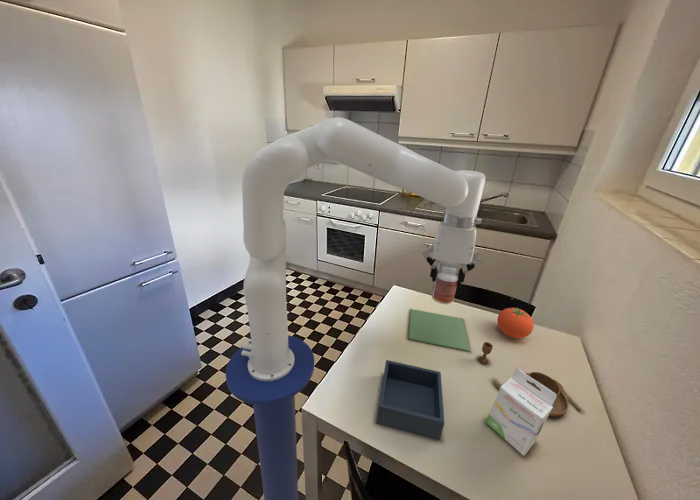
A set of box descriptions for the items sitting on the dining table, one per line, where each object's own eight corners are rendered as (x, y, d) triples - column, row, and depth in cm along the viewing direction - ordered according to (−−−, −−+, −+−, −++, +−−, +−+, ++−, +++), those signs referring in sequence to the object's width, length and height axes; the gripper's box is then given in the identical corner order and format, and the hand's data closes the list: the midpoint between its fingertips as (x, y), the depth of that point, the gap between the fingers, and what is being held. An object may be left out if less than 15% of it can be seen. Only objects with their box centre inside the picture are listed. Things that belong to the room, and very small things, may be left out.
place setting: (522, 423, 64) (530, 405, 61) (474, 357, 82) (478, 341, 79) (587, 415, 66) (597, 397, 64) (526, 353, 84) (532, 338, 82)
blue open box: (376, 423, 62) (378, 406, 59) (383, 375, 74) (386, 359, 72) (439, 440, 59) (444, 422, 57) (436, 387, 71) (440, 371, 69)
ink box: (484, 423, 63) (502, 375, 57) (496, 412, 66) (514, 365, 60) (524, 457, 57) (549, 407, 51) (535, 444, 59) (560, 395, 54)
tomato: (526, 330, 95) (536, 305, 91) (530, 349, 86) (540, 323, 82) (493, 320, 99) (501, 296, 95) (494, 338, 90) (502, 312, 86)
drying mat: (408, 339, 87) (409, 338, 87) (410, 310, 102) (410, 309, 101) (469, 351, 84) (469, 350, 83) (462, 319, 98) (462, 318, 98)
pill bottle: (457, 304, 79) (466, 269, 74) (437, 306, 77) (445, 270, 73) (445, 292, 84) (453, 259, 80) (427, 294, 83) (433, 260, 78)
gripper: (492, 220, 73) (476, 280, 80) (424, 212, 76) (415, 270, 84) (498, 229, 66) (480, 293, 73) (424, 220, 70) (414, 282, 77)
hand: (445, 281), depth 78 cm, fingers closed on pill bottle, 6 cm apart
